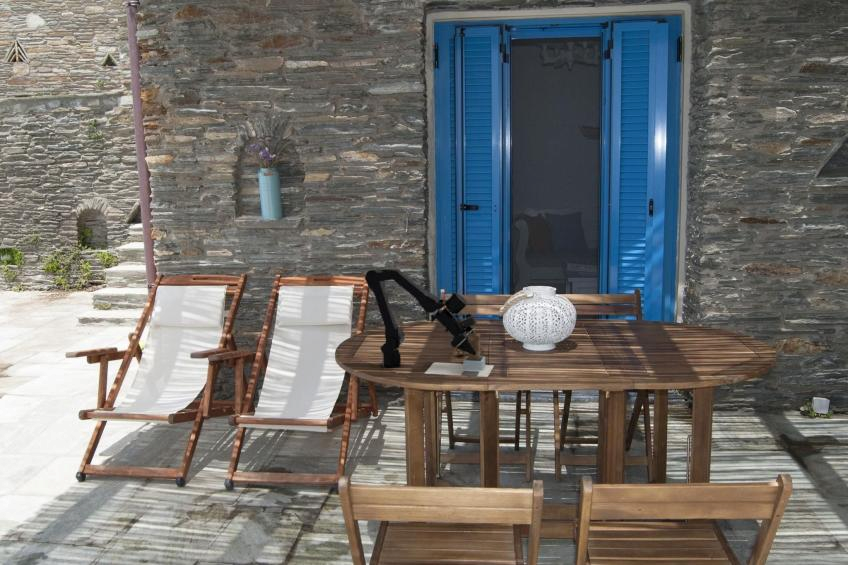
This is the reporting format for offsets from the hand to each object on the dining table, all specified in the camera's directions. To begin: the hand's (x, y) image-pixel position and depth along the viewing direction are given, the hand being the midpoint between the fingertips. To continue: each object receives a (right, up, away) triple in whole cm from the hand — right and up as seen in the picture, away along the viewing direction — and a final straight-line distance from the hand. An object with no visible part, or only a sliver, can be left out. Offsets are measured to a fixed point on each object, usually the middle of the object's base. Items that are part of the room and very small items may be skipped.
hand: (477, 351), depth 301 cm
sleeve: (-1, -6, +1) cm, 7 cm away
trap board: (-7, -8, -1) cm, 10 cm away
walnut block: (-1, -6, +1) cm, 7 cm away
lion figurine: (-4, -4, +21) cm, 22 cm away
